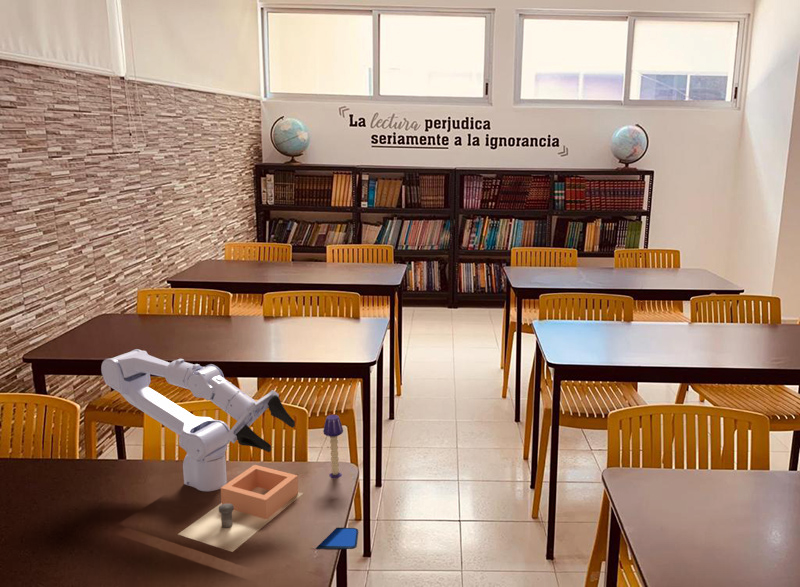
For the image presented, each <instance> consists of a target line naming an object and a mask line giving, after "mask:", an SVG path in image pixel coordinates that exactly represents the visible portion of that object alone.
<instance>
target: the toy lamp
mask: <svg viewBox="0 0 800 587" xmlns="http://www.w3.org/2000/svg"><path fill="white" fill-rule="evenodd" d="M322 431H323V432H322V433H323V435H325V436H327V437H329V438H330V440H329V443H330V462H331V464H330V466H331V473H329V476H328V477H329V478H332V479H339V478H340V477H342V475H343V474H342V472H340V471H339V467H340V466H339V457H338V456H339V450H338V449H339V446H338V443H339V442H338V441H339V440H338V436H341V435H342V434H343V433H344V429H343V424H342V421H341V419H340V417H339V415H337V414H330V415H327V416H326V418H325V422H324V427H323V430H322Z"/></svg>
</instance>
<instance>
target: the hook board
mask: <svg viewBox="0 0 800 587" xmlns="http://www.w3.org/2000/svg"><path fill="white" fill-rule="evenodd" d="M269 491H270V490H267V489H263V488H260V487H256V488H254V489H253V490H252V491H251V492H255V493H259V494H262V495H265V494H266V493H267V492H269ZM303 494H304V493H303V492H299V491H298V494H297V495H296V496H294V497H293V498H292V499H291V500H290V501H288V502H287V503H286V504H285V505H283V506H282V507H281V508H280V509H279V510H277V511H276V512H275V513H274V514H272V515H271V516H270V517H269V518H268V519H264V518H260V517H257V516H253V515H250V514H246V513H243V512H240V511H236V510H234V506H233V505H232V504H228V503H227V504H222V502H221V503H219V504H218V505H216V506H214V507H213V508H212V509H211V510H209V511H208V512H207V513H205V514H204V515H203V516H201V517H200V518H198V519H197V520H195V521H194V522H193V523H191V524H190V525H189V526H187V527H186V528H185V529H183V530H181V531H180V532H179V533H177V535H178V536H182V537H185V538H187V539H190V540H194V541H197V542H200V543H202V544H205V545H209V546H213V547H214V548H215V547H216V548H219V549H222V550H225V551H228V552H232V553H233V552H234V551H235V550H237V549H239V547H240V546H242V545H243V544H245V542H247V541H248V540H249V539H250V538H252V537H253V536H254V535H255V534H256V533H257V532H258V531H260V530H261V529H262V528H264V527H265V526H266V525H268V524H269V523H270V522H271V521H272V520H273V519H275V518H276V517H277V516H278V515H279V514H280V513H282V512H283V511H284V510H285V509H286V508H288V507H289V506H290V505H291V504H292V503H294V502H295V501H296V500H297V499H299V498H300V497H301V496H302V495H303Z"/></svg>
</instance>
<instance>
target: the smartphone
mask: <svg viewBox="0 0 800 587" xmlns="http://www.w3.org/2000/svg"><path fill="white" fill-rule="evenodd" d="M358 537H359V529H358V528H356V527H335V529H333V530H332V532H331V533H329V534H328V535H327V536H326V537H325V538H324V539H323V540H322V541H321V542H320V544H318V545H317V546H316V547H315V550H354V549H356V548H357V547H358V540H359V538H358Z"/></svg>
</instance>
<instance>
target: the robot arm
mask: <svg viewBox="0 0 800 587" xmlns="http://www.w3.org/2000/svg"><path fill="white" fill-rule="evenodd" d="M100 370H101V376H102V379H103V380H104V383H105V385H107V386H109V387H110V388H111V389H113V390H115V391H116V392H117V393H119V394H120V395H121V396H122V397H123V398H124V399H125V400H126V402H128V403H129V404H130V405H131V406H133V407H134V408H136V409H138V410H140V411H141V412H143V413H144V414H146V415H147V416H149V417H150V418H152V419H154V420H155V421H157V422H159V423H160V424H161V425H163V426H164V427H166V428H168V429H169V430H170V431H172V432H174V433H175V434H176V435H178V436H179V437H178V443H179V444H178V445H179V447H180V448H182V449H183V450H184V451H185V452H186V455H185V457H184V459H183V462H182V469H183V470H182V472H183V484H184V485H186V486H190V487H192V488H195V489H196V490H198V491H201V492H213V491H217V490H221V487H222V486H224V485H225V484H227V483H228V480H227V464H226V463H227V462H226V451H227V450H228V445H229V444H230V443H232V444H235V443H236V442H237V443H238V444H239V445H241V446H244V447H245V446H247V447H252V448H256V449H260V450H263V451H265V452H267V453H270V452H271V451H272V445H271V444H270V443H269V442H268V441H267V440H265V439H264V438H262V437H260V436H259V435H258V434H257V433H256V432H254V430H253V429H252V428H250V426H251V425H253V423H254V422H255V421H256V420H257V419H259V417H261V416H262V414H263V413H264V412H265V411H267V410H268V411H270V416H272V417H275V418H276V419H278V420H280V421H282V422H283V424H286V425H287V426H289V427H291V428H292V429H293V428H295V426H296V424H295V423H296V421H295V419H293V418H292V417H291V416H290V414H289V412H288V411H287V410H286V409H285V407H284V405H283V403H282V401H281V400H280V395H279V394H280V393H278V392H277V391H275V390H273V389H271V390H270V391H269V392H268V393H267V394H265V395H264V396H262V397H261V398H259V399H257V400H255V399H254V398H252V397H251V396H249V395H248V394H247V393H245V392H244V391H242V389H240V388H239V387H237V386H236V385H235V384H233V383H232V382H230V381H229V380H227V379H226V378H225V376H224V373H223V371H222V369H220V367H218V366H217V365H215V364H212V363H210V364H207V365H205V366H201V365H200V364H198V363H195V364H193V363H190V362H186V361H185V359H183V358H179V359H175V360H173V361H171V362H170V361H169V362H168V361H166V360H163V359H160V358H158V357H155V356H153V355H150V354H148V352H147V351H146V350H141V349H138V348H136V349H133V350H131V351H129V352H126V353H122V354H119V355H117V356H115V357H111V358H105V359H104V360H103V361H102V363H101V368H100ZM151 375H152V376H157V377H162V378H165V381H166V382H167V383H168V384H170V385H174V386H176V387H179V388H184V389H187V390H190V392H191V393H192V396H193V397H195V398H198V399H199V398H200V399H202V398H203V399H205V400H206V401H210V402H212V404H214V405H215V406H217V407H218V408H220V409H221V411H223V412H225V413H226V414H228V415H229V416H230V417H232V418H233V419H234V420H236V422H235V424H233V426H232V428H231V429H230V427H229V425H228V424H227V423H226V422H224V421H223V420H220V419H219V420H217V419H213V418H212V417H210V416H196V415H195V414H192V413H191V412H189V411H188V410H186V409H185V408H183V407H181V406H180V405H178V404H177V403H175V402H173V401H171V399H168V398H167V397H165V396H164V395H162V394H161V393H159V392H158V391H156V390H154V389H152V388H151V387H149V386H150V384H151Z"/></svg>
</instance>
